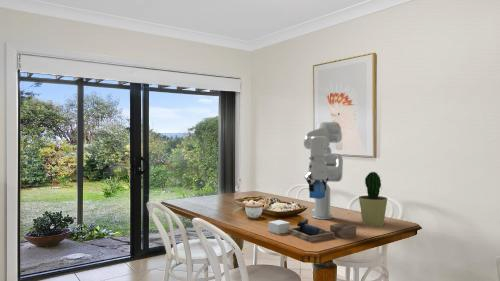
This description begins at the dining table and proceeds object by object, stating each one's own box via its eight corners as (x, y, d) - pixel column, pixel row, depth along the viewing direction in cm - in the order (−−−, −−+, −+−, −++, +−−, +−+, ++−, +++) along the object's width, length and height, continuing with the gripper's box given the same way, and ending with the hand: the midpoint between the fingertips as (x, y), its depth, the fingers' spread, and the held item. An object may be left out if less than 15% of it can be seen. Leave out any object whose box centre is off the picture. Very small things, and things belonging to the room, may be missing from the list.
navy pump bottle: (297, 236, 187) (317, 242, 178) (296, 222, 185) (316, 227, 177) (307, 229, 193) (327, 235, 185) (306, 216, 192) (326, 220, 183)
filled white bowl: (252, 219, 219) (252, 204, 219) (241, 216, 227) (241, 201, 227) (266, 217, 226) (266, 202, 226) (254, 214, 234) (254, 199, 234)
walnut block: (330, 235, 183) (330, 225, 183) (341, 232, 189) (341, 222, 189) (345, 239, 176) (345, 228, 176) (356, 235, 182) (356, 225, 182)
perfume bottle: (314, 196, 206) (314, 174, 205) (324, 197, 202) (324, 175, 202) (309, 197, 201) (309, 175, 201) (319, 198, 197) (319, 176, 197)
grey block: (268, 231, 192) (268, 221, 192) (279, 229, 197) (279, 219, 197) (278, 234, 186) (278, 224, 186) (289, 232, 190) (289, 222, 190)
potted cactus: (374, 219, 218) (374, 169, 218) (393, 225, 204) (393, 171, 203) (353, 221, 212) (353, 170, 212) (371, 227, 198) (370, 172, 198)
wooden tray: (288, 233, 187) (288, 228, 187) (311, 229, 194) (311, 225, 194) (310, 242, 171) (310, 236, 171) (334, 237, 178) (334, 232, 178)
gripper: (309, 159, 193) (309, 192, 194) (334, 158, 202) (334, 190, 202) (300, 159, 200) (300, 191, 200) (325, 158, 208) (325, 188, 209)
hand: (317, 190), depth 201 cm, fingers closed on perfume bottle, 8 cm apart
